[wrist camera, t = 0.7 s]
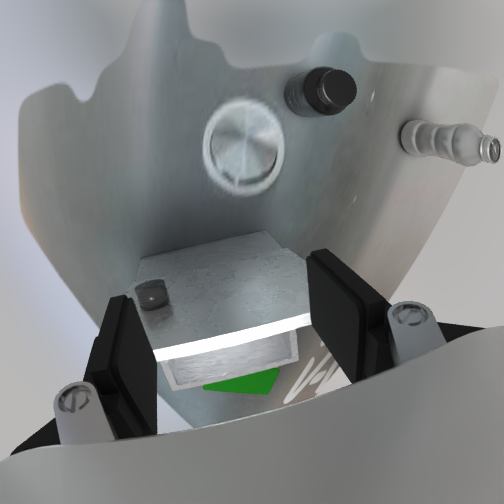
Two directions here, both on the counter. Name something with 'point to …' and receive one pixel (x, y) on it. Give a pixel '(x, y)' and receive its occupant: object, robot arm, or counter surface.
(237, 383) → the dish sponge
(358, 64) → the counter surface
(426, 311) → the robot arm
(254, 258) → the lid
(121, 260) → the counter surface
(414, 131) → the plastic bottle
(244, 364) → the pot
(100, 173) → the counter surface
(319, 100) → the supplement bottle
